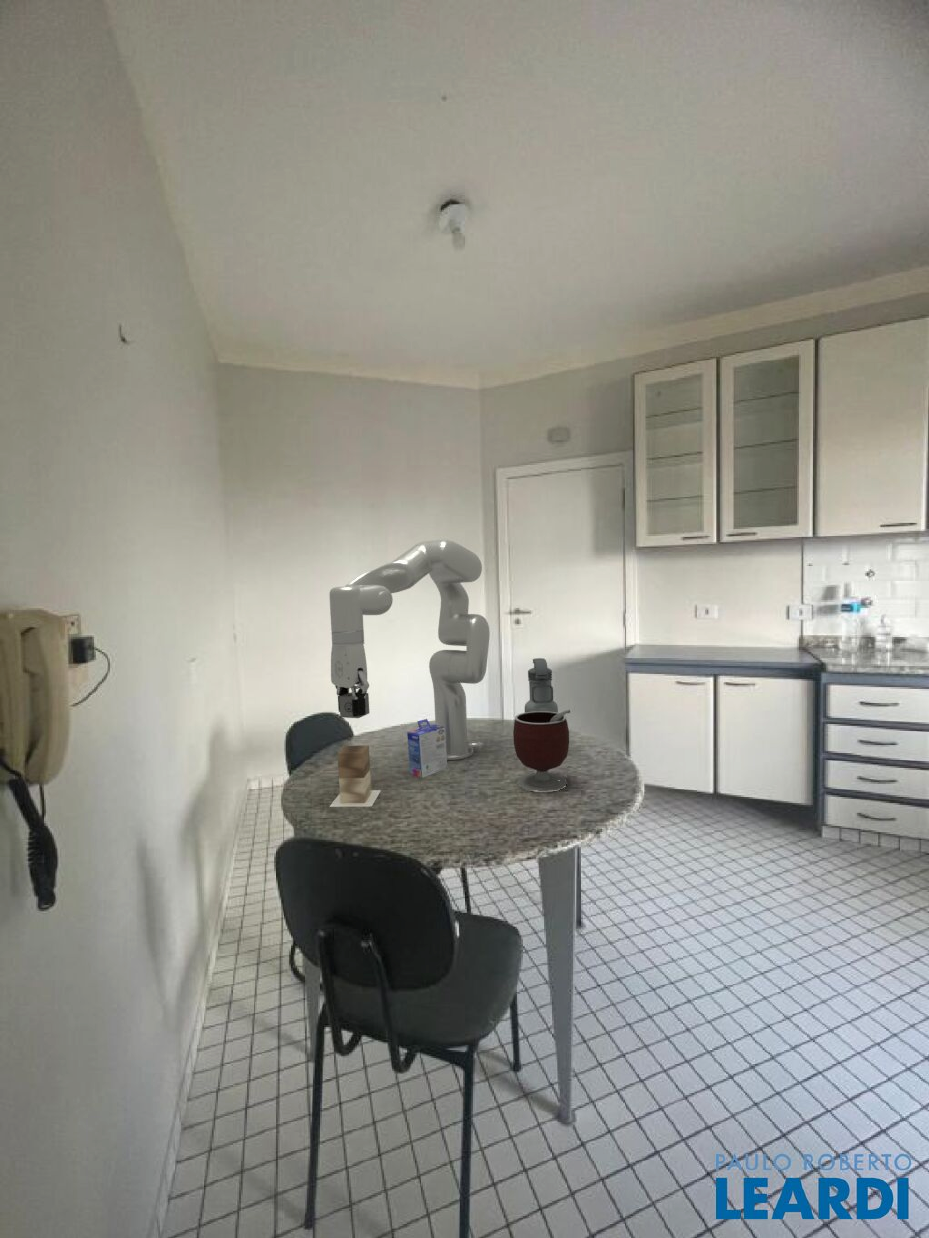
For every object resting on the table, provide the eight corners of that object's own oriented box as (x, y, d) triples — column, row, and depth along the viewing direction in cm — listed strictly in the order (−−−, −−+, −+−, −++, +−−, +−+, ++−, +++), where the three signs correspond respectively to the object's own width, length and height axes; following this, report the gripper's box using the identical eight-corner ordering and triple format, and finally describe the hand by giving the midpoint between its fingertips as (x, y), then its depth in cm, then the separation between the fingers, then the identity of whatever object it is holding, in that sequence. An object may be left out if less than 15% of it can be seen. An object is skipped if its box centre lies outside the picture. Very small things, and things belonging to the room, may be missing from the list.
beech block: (371, 793, 136) (370, 769, 136) (365, 802, 130) (363, 777, 130) (347, 793, 137) (346, 769, 136) (340, 803, 131) (338, 778, 130)
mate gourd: (503, 785, 139) (501, 707, 138) (536, 770, 149) (533, 697, 148) (555, 800, 129) (553, 715, 127) (586, 783, 139) (584, 704, 137)
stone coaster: (381, 792, 138) (381, 790, 138) (371, 808, 128) (371, 806, 128) (342, 792, 139) (342, 790, 139) (329, 809, 129) (329, 806, 129)
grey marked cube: (351, 712, 136) (350, 692, 135) (369, 713, 134) (368, 692, 134) (340, 717, 131) (339, 696, 131) (358, 718, 129) (357, 697, 129)
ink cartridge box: (434, 765, 157) (432, 715, 156) (448, 769, 153) (446, 718, 152) (408, 775, 150) (405, 723, 149) (422, 780, 146) (419, 726, 145)
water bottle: (561, 758, 159) (559, 661, 157) (527, 759, 159) (524, 663, 157) (556, 747, 169) (553, 657, 167) (524, 749, 169) (521, 658, 167)
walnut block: (370, 769, 136) (368, 745, 135) (363, 777, 130) (362, 752, 130) (346, 769, 136) (344, 745, 136) (338, 778, 130) (337, 753, 130)
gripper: (317, 638, 135) (321, 710, 136) (352, 642, 122) (356, 722, 123) (344, 635, 140) (348, 705, 141) (381, 638, 127) (384, 716, 128)
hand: (351, 712), depth 132 cm, fingers closed on grey marked cube, 6 cm apart
